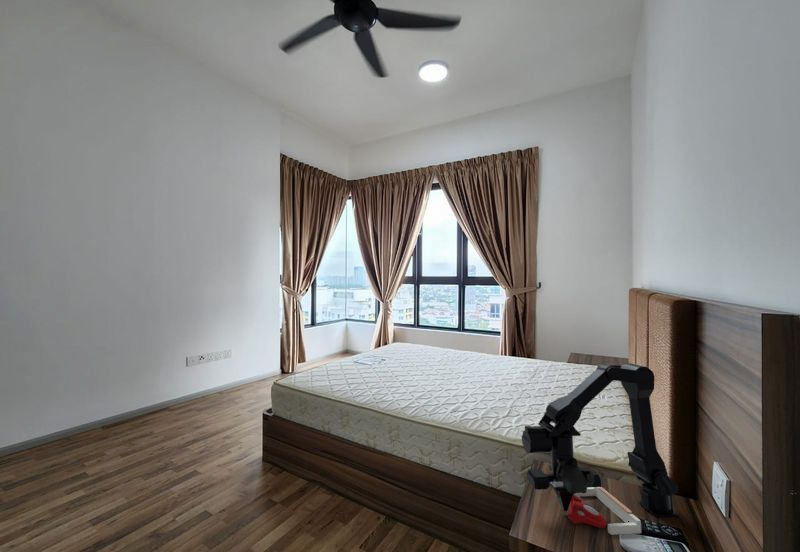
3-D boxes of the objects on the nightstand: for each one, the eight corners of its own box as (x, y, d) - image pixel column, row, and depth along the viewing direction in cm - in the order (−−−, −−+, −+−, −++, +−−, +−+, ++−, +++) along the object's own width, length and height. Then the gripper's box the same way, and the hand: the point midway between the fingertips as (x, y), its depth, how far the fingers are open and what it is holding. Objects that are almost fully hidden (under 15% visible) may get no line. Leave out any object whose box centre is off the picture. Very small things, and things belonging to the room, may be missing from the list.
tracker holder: (616, 520, 90) (592, 522, 85) (610, 536, 90) (586, 538, 85) (575, 487, 101) (553, 487, 96) (570, 501, 101) (548, 502, 96)
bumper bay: (596, 493, 104) (595, 482, 104) (641, 533, 86) (640, 518, 86) (570, 494, 103) (570, 483, 103) (610, 534, 85) (609, 520, 86)
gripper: (543, 466, 87) (545, 531, 85) (614, 463, 88) (617, 527, 86) (524, 447, 98) (526, 505, 96) (587, 445, 99) (590, 502, 98)
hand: (564, 510), depth 94 cm, fingers closed
